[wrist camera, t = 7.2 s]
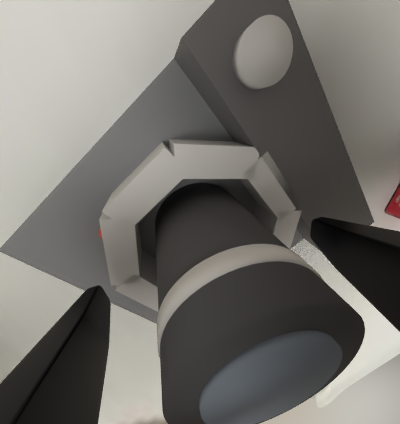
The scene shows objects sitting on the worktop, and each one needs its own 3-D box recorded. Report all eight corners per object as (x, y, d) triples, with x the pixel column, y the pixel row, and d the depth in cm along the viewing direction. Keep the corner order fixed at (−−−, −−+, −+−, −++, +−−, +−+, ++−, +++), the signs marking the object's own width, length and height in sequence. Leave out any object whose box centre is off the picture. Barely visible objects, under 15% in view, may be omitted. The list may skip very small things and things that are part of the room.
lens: (243, 245, 12) (351, 393, 5) (167, 269, 11) (190, 463, 5) (235, 171, 9) (402, 273, 3) (141, 195, 9) (118, 379, 3)
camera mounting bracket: (180, 320, 15) (189, 377, 12) (14, 236, 10) (-59, 298, 6) (326, 200, 13) (386, 227, 10) (224, 8, 8) (280, -78, 4)
